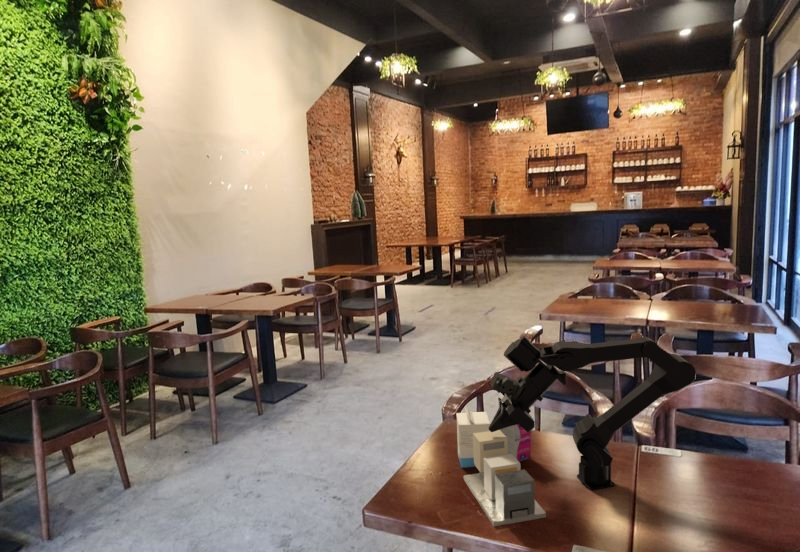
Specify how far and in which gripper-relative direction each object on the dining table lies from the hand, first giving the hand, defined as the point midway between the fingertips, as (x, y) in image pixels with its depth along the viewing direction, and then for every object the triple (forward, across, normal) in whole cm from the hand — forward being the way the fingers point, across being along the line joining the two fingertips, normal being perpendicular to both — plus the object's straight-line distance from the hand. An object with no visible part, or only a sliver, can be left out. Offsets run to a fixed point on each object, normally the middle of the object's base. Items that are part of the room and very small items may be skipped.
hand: (489, 430), depth 126 cm
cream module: (+8, +7, +10) cm, 14 cm away
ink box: (+12, -12, +8) cm, 18 cm away
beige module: (+6, 0, +6) cm, 9 cm away
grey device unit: (+8, +7, +10) cm, 15 cm away
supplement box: (+4, -12, +16) cm, 20 cm away
